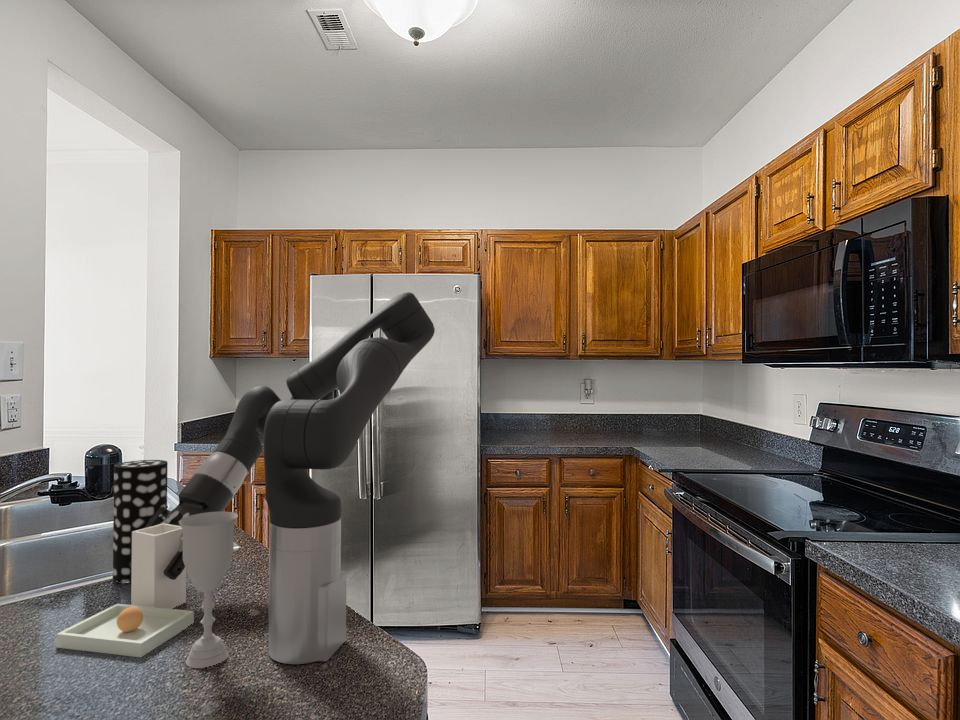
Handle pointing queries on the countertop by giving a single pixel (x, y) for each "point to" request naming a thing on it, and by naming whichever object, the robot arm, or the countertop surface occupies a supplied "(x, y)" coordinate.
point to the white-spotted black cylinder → (135, 506)
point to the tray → (109, 639)
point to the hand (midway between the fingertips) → (150, 572)
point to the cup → (156, 567)
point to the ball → (129, 619)
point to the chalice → (207, 574)
